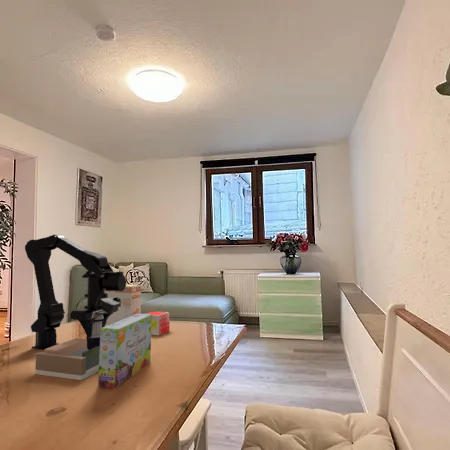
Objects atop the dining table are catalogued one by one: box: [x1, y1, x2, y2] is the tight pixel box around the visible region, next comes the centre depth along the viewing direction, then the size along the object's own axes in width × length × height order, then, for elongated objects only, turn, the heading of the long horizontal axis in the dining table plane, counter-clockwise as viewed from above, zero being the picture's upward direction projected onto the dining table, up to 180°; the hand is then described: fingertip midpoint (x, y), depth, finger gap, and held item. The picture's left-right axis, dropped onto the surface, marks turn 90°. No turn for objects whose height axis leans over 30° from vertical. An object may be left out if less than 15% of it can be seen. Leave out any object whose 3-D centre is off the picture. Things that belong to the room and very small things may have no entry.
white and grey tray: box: [35, 351, 99, 381], centre depth 102 cm, size 16×18×6 cm
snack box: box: [97, 313, 152, 390], centre depth 96 cm, size 21×6×15 cm, turn 168°
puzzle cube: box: [146, 310, 170, 336], centre depth 144 cm, size 8×8×8 cm
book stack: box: [43, 338, 87, 357], centre depth 103 cm, size 4×13×5 cm, turn 162°
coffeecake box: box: [105, 283, 142, 326], centre depth 149 cm, size 15×7×20 cm, turn 66°
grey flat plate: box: [82, 345, 100, 370], centre depth 100 cm, size 1×12×5 cm, turn 162°
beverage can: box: [86, 314, 104, 350], centre depth 119 cm, size 6×6×12 cm
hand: (95, 335), depth 119 cm, fingers closed on beverage can, 6 cm apart
